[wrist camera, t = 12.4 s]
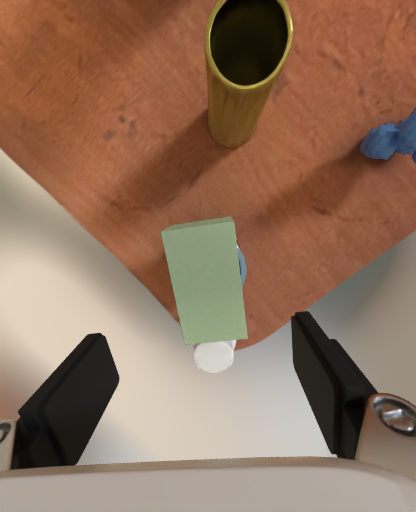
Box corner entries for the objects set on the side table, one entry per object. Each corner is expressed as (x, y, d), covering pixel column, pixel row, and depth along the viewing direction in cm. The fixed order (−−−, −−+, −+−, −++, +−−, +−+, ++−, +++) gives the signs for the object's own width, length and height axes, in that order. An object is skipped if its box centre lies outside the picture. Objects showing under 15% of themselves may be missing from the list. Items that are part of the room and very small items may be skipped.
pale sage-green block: (170, 225, 21) (160, 231, 17) (231, 216, 20) (233, 221, 17) (190, 321, 24) (184, 345, 20) (243, 315, 23) (247, 338, 20)
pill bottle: (201, 329, 35) (195, 380, 25) (192, 298, 33) (182, 340, 24) (236, 323, 34) (243, 372, 24) (228, 291, 33) (232, 331, 23)
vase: (263, 98, 25) (317, -16, 12) (249, 153, 27) (281, 109, 13) (214, 85, 25) (210, -46, 11) (203, 141, 27) (187, 84, 13)
